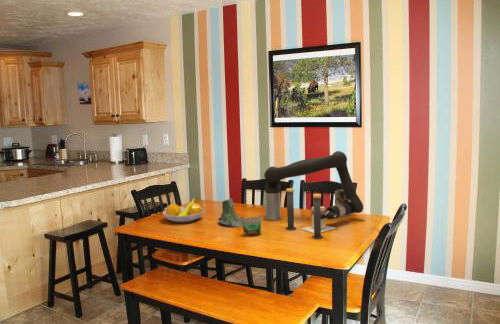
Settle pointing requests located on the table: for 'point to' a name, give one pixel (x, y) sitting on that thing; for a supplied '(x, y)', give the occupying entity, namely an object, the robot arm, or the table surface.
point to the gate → (316, 213)
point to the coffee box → (341, 198)
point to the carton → (321, 219)
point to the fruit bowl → (183, 212)
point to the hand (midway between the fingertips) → (315, 216)
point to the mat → (321, 229)
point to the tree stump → (230, 215)
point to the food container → (251, 226)
